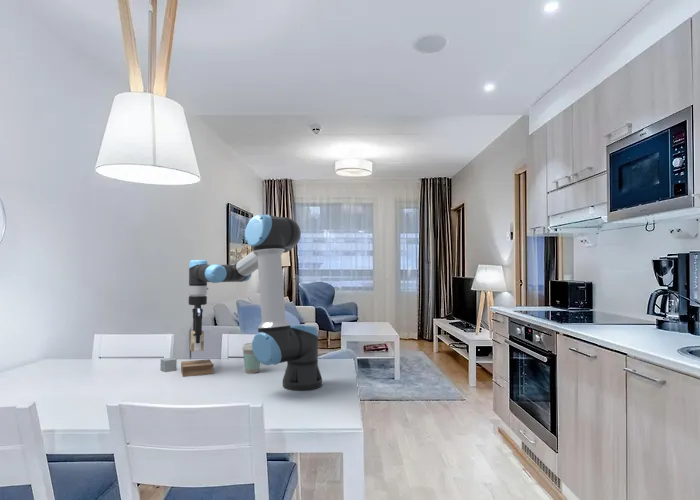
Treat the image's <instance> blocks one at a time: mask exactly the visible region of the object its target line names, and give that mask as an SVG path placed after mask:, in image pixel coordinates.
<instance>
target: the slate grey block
mask: <svg viewBox="0 0 700 500" xmlns="http://www.w3.org/2000/svg"><path fill="white" fill-rule="evenodd" d="M177 362H178V361H177V358H174V357H167V358H160V371H161V372H163V373H169V372H175V371H177V364H178V363H177Z"/></svg>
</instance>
